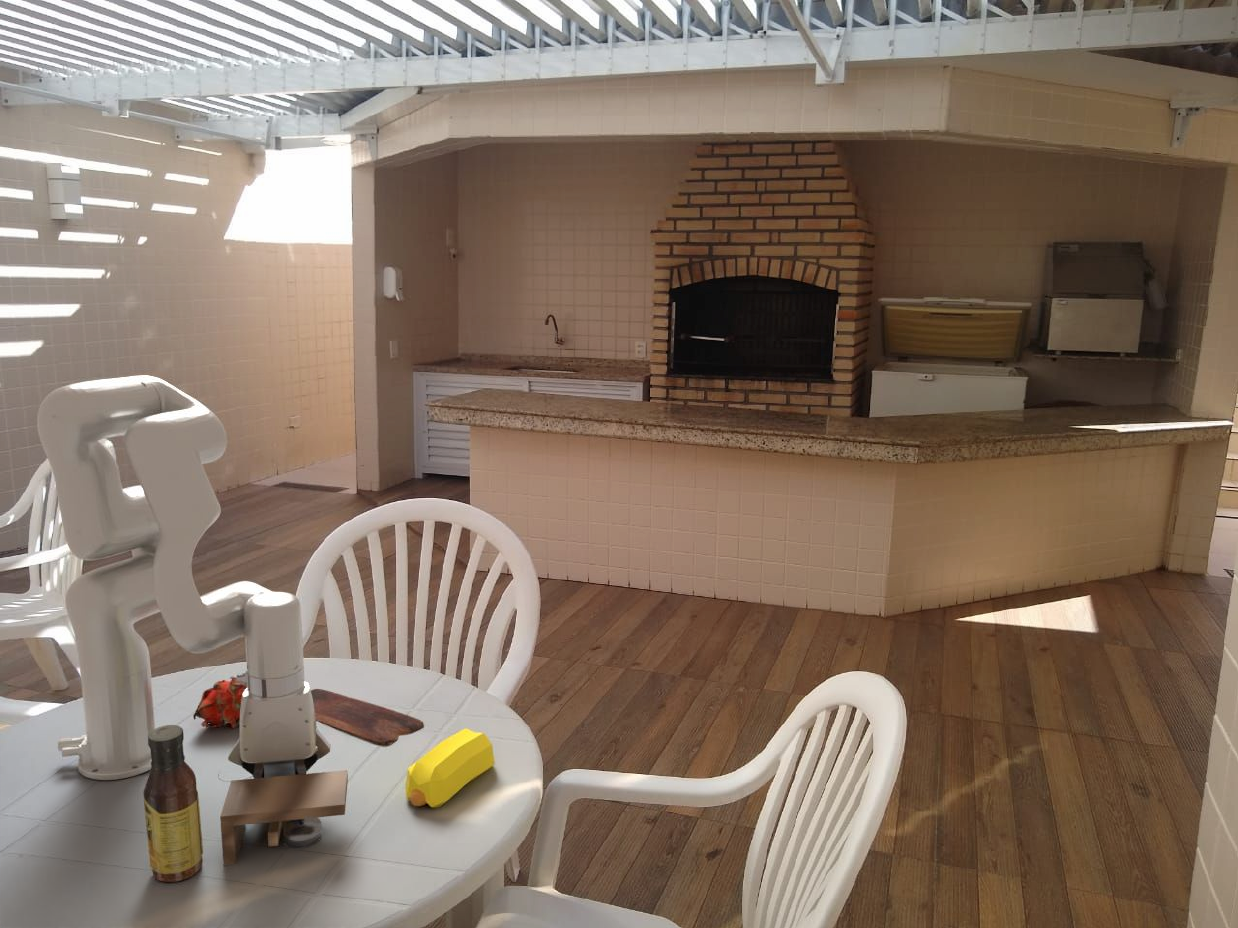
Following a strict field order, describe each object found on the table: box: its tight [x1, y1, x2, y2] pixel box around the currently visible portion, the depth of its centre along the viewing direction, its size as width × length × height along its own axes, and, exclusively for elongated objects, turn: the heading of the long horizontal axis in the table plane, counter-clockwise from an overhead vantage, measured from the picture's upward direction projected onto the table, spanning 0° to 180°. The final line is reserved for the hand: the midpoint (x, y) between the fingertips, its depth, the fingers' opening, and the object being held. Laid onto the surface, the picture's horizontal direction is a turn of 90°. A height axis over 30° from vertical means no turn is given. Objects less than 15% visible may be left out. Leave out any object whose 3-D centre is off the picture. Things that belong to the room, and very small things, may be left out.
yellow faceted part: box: [405, 727, 496, 808], centre depth 147 cm, size 18×7×8 cm
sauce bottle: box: [142, 724, 204, 883], centre depth 123 cm, size 6×6×20 cm
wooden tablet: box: [310, 688, 424, 746], centre depth 169 cm, size 26×2×10 cm
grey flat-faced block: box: [264, 760, 296, 847], centre depth 135 cm, size 4×13×7 cm, turn 13°
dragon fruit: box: [193, 676, 247, 729], centre depth 164 cm, size 8×8×12 cm
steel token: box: [282, 817, 322, 849], centre depth 133 cm, size 5×5×2 cm
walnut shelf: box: [219, 769, 349, 866], centre depth 132 cm, size 16×9×7 cm, turn 103°
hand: (282, 796), depth 140 cm, fingers closed on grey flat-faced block, 4 cm apart
